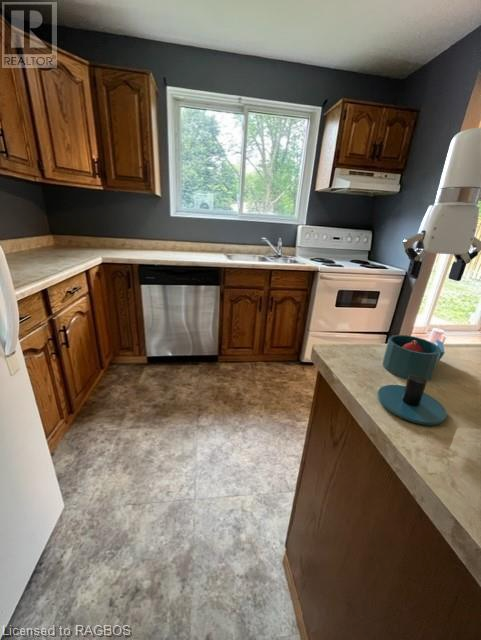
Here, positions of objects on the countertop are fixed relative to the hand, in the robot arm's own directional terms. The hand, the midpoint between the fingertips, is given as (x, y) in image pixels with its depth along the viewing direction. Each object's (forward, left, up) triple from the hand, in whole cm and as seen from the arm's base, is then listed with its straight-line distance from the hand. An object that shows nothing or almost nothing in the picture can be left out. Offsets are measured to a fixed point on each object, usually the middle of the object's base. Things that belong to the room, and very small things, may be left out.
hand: (433, 278), depth 63 cm
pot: (0, 0, -24) cm, 24 cm away
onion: (0, 0, -24) cm, 24 cm away
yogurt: (-8, -4, -25) cm, 26 cm away
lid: (+8, +16, -24) cm, 30 cm away
